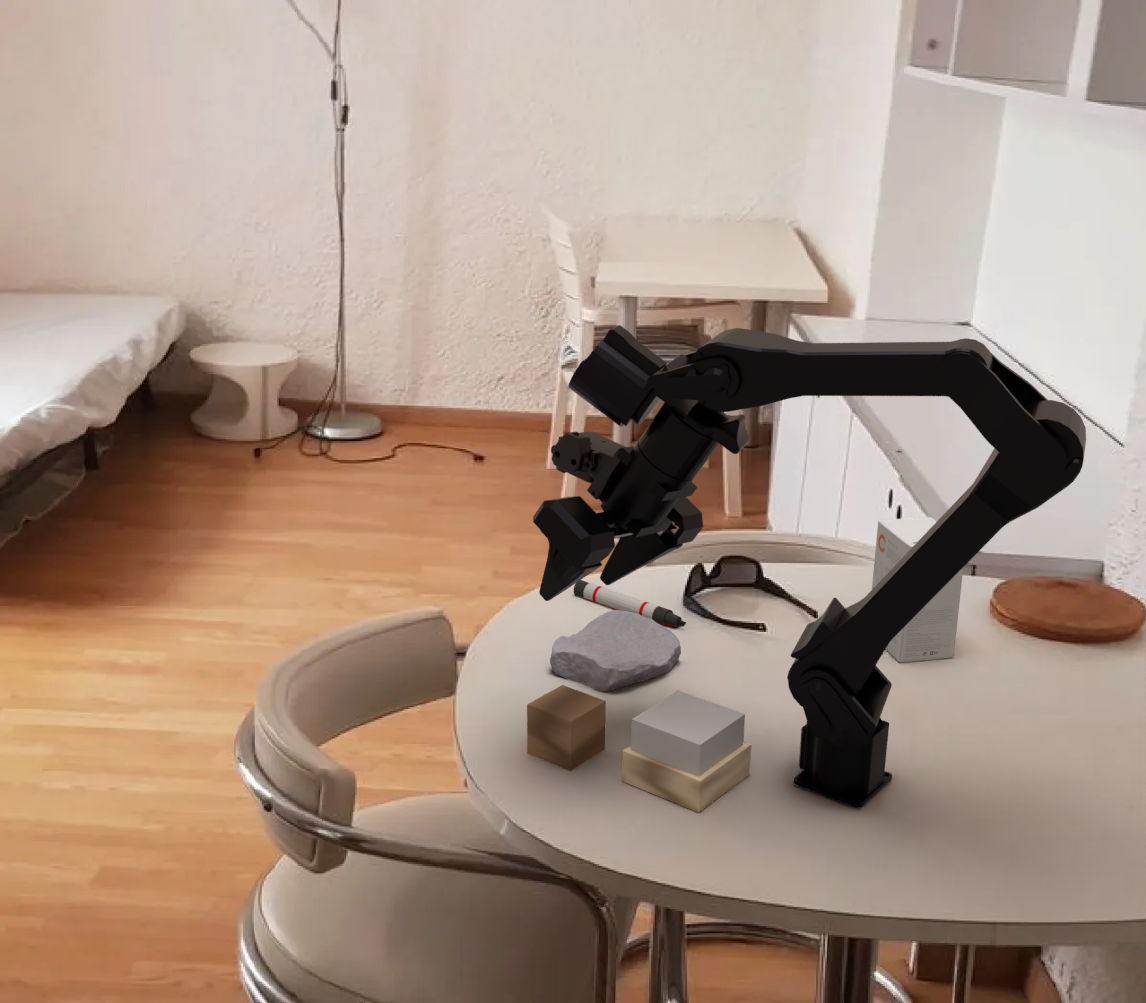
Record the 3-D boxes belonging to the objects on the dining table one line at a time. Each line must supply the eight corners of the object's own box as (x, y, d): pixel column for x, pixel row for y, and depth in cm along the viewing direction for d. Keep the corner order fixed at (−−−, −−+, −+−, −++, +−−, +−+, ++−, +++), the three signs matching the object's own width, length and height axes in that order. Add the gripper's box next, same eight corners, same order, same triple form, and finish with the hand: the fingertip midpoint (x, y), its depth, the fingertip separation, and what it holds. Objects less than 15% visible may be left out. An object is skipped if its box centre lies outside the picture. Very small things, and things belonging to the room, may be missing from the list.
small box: (954, 658, 145) (968, 542, 141) (898, 664, 144) (910, 546, 140) (920, 627, 153) (931, 515, 148) (866, 631, 151) (876, 519, 147)
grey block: (743, 744, 121) (745, 714, 120) (698, 776, 116) (700, 744, 115) (676, 720, 125) (677, 690, 124) (630, 750, 120) (631, 719, 119)
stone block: (686, 676, 145) (612, 633, 150) (695, 638, 143) (619, 595, 148) (616, 721, 136) (540, 674, 142) (624, 681, 134) (546, 635, 139)
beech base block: (749, 774, 122) (751, 744, 121) (698, 812, 116) (700, 781, 115) (674, 746, 127) (675, 716, 126) (621, 781, 121) (622, 750, 120)
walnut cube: (604, 750, 126) (605, 700, 125) (570, 772, 123) (571, 721, 121) (562, 733, 129) (562, 684, 128) (527, 754, 126) (527, 704, 124)
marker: (573, 598, 160) (573, 582, 159) (584, 593, 161) (584, 577, 160) (680, 636, 150) (681, 619, 150) (691, 630, 152) (692, 613, 151)
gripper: (662, 393, 128) (578, 517, 136) (539, 402, 113) (451, 541, 121) (745, 473, 124) (653, 597, 131) (629, 493, 109) (532, 631, 116)
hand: (574, 589), depth 125 cm, fingers open, 9 cm apart
